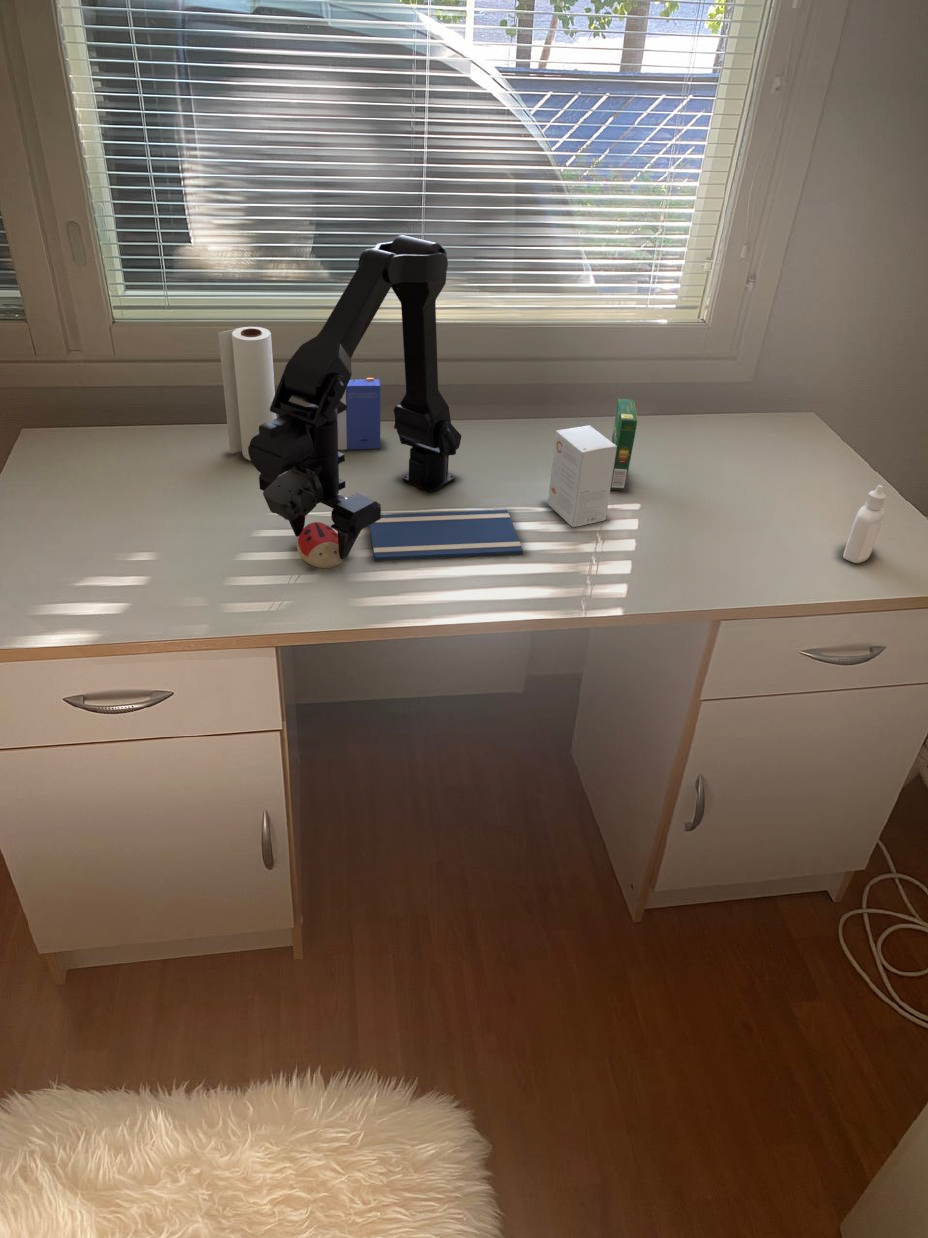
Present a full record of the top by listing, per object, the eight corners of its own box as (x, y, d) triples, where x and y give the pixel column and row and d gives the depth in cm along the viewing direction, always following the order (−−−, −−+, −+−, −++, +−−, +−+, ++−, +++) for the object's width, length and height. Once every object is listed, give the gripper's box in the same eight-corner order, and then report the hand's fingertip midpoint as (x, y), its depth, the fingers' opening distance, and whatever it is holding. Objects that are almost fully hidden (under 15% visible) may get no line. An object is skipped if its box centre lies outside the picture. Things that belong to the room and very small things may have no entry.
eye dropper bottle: (880, 560, 148) (906, 491, 141) (850, 565, 146) (874, 495, 139) (862, 545, 151) (886, 477, 144) (832, 550, 150) (855, 481, 143)
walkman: (378, 441, 172) (379, 376, 164) (380, 448, 169) (380, 383, 162) (334, 442, 170) (332, 377, 163) (334, 449, 168) (333, 384, 161)
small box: (606, 521, 153) (618, 445, 146) (571, 528, 151) (582, 452, 143) (579, 497, 159) (590, 423, 151) (546, 504, 157) (554, 429, 149)
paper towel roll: (286, 453, 166) (278, 330, 153) (262, 466, 162) (252, 341, 149) (254, 441, 169) (244, 320, 156) (230, 454, 165) (217, 330, 152)
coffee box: (626, 492, 161) (638, 419, 154) (608, 491, 161) (620, 417, 154) (623, 469, 168) (635, 398, 160) (606, 468, 168) (617, 397, 160)
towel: (374, 560, 141) (374, 556, 140) (367, 518, 150) (367, 514, 150) (522, 554, 144) (523, 550, 144) (506, 513, 154) (507, 509, 153)
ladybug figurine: (309, 575, 137) (308, 553, 135) (288, 540, 144) (287, 519, 142) (354, 566, 139) (353, 545, 137) (331, 532, 146) (331, 511, 144)
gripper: (224, 446, 131) (234, 544, 140) (324, 493, 122) (327, 595, 131) (285, 421, 138) (291, 516, 147) (383, 463, 129) (383, 562, 138)
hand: (320, 546), depth 141 cm, fingers closed on ladybug figurine, 9 cm apart
